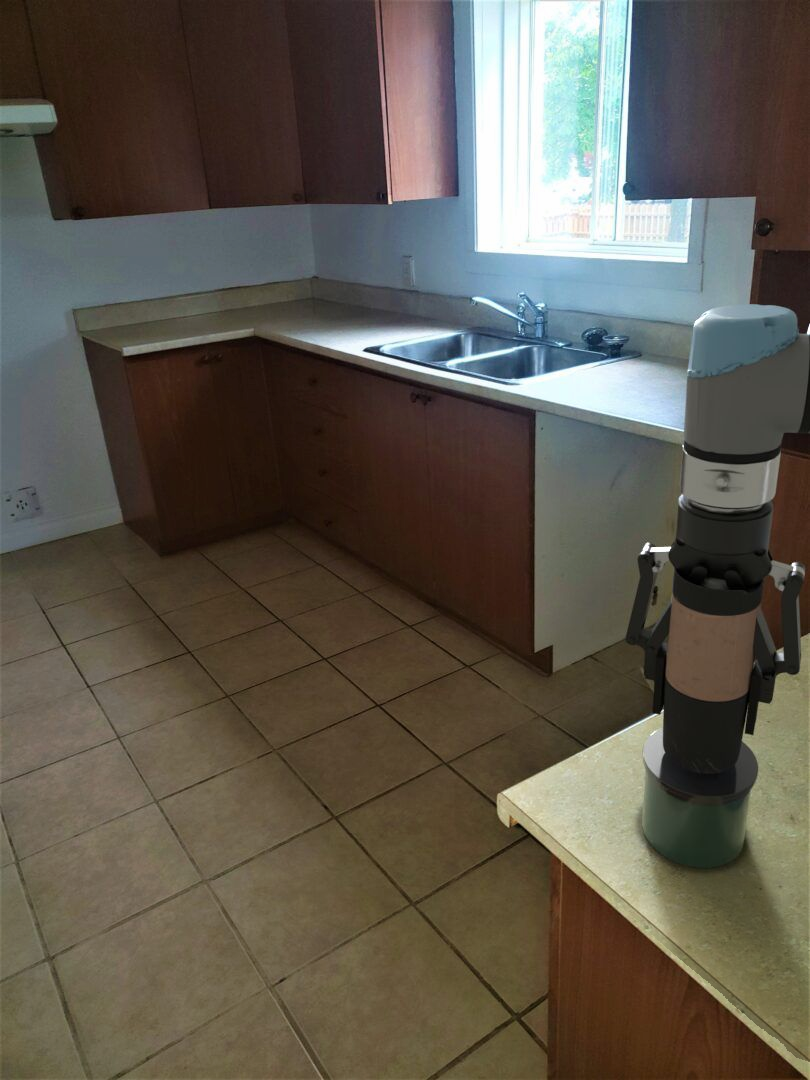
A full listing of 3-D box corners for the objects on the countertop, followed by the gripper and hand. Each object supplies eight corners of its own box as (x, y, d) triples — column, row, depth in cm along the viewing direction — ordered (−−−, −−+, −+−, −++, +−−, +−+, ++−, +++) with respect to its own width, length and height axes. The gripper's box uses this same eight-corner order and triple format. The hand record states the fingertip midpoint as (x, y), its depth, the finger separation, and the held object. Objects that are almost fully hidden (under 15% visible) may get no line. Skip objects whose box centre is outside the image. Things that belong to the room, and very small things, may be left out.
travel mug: (656, 722, 84) (669, 549, 76) (735, 727, 83) (757, 551, 74) (662, 773, 78) (676, 590, 69) (748, 779, 76) (773, 593, 67)
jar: (739, 797, 88) (748, 726, 84) (756, 877, 79) (768, 801, 75) (635, 788, 91) (640, 719, 87) (640, 865, 81) (645, 791, 77)
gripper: (593, 500, 70) (587, 714, 80) (864, 530, 61) (820, 767, 71) (614, 469, 76) (607, 672, 86) (864, 493, 67) (824, 717, 77)
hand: (703, 715), depth 78 cm, fingers closed on travel mug, 8 cm apart
